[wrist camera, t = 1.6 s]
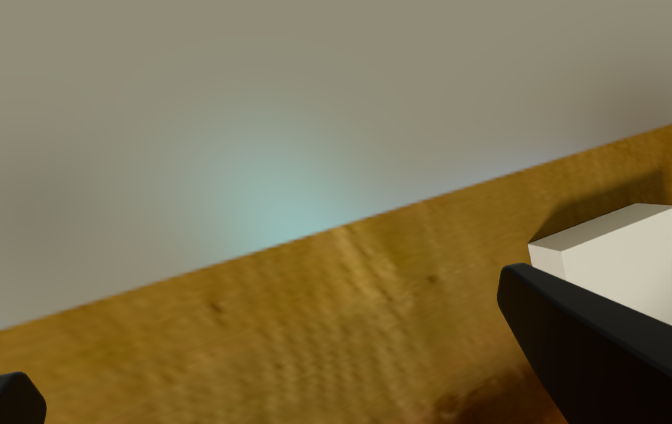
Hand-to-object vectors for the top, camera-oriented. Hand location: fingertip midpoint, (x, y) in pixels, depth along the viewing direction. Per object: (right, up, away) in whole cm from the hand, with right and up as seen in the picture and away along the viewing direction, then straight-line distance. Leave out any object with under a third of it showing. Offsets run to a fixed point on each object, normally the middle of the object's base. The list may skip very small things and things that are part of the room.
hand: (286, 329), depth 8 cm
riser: (+21, -3, +23) cm, 31 cm away
